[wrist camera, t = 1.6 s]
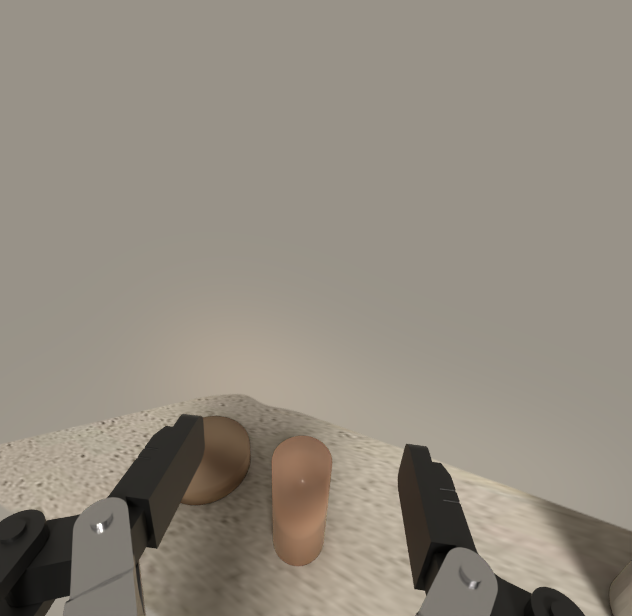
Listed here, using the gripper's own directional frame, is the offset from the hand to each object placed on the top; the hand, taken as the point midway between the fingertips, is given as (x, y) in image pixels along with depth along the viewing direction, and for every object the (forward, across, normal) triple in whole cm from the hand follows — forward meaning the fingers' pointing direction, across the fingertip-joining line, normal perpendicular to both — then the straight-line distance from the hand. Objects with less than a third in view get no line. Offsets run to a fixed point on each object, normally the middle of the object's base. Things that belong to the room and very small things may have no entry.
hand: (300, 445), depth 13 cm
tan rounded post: (+11, 0, +23) cm, 26 cm away
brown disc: (+18, +12, +23) cm, 31 cm away
